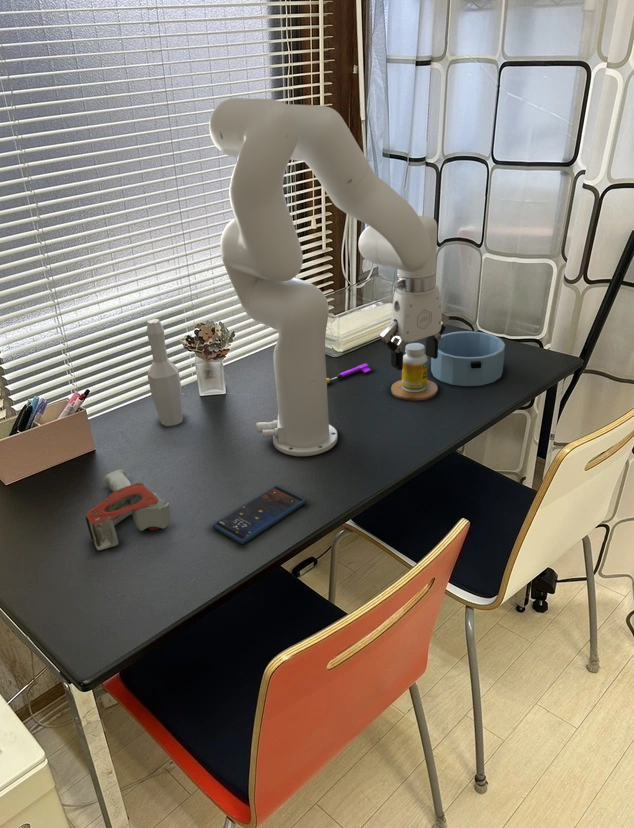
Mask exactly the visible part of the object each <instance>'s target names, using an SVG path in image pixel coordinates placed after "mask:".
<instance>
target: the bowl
mask: <svg viewBox="0 0 634 828" xmlns="http://www.w3.org/2000/svg"><path fill="white" fill-rule="evenodd" d="M505 350H506V344H505V342H504V341H503V339H501V338H500V337H498V336H496V335H495V334H492V333H491V334H490V333H487V332H483V331H473V330H471V331H470V330H463V331H453V332H448V333H445V334H442V335H441V339H440V340H438V358H436V359H434V358H432V357H430V358H431V359H430V372H431V374H432V376H433V377H434V378H435V379H437V380H438V381H439V382H442V383H445V384H449V385H452V386H459V387H479V386H484V385H488V384H492V383H495V382H496V381H498V380H499V379H500V378H501V377H502V376H503V372H504V363H505V352H506V351H505Z"/></svg>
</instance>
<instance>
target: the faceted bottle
mask: <svg viewBox="0 0 634 828" xmlns="http://www.w3.org/2000/svg"><path fill="white" fill-rule="evenodd" d="M146 336H147V339H148V342H149V345H150V349H151V355H152V360H153V361H152V363H151V365H150V367H149V369H148V371H147V379H148V383H149V390H150V394H151V397H152V400H153V403H154V406H155V409H156V412H157V415H158V418H159V421H160V424H161V425H163V426H165V427H172V426H173V427H174V426H177V425H180V424H182V423H183V420H184V418H183V417H184V416H183V395H182V383H181V378H180V371H179V367H177V366H176V364H175V363H173V362H172V361H171V360H170V359H169V358H168V352H167V347H166V338H165V328H164V326H163V324H162V323H161V321H160V319H158V318H152V319H149V320H147V324H146Z"/></svg>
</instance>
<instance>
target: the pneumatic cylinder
mask: <svg viewBox="0 0 634 828" xmlns="http://www.w3.org/2000/svg"><path fill="white" fill-rule="evenodd" d="M357 372H360V373H363V374H366V375H367V374H368V373H371V372H372V369H371V368H370V367H369V363H362V364H360V365H358V366H356V367H353V368H351V369H348V370H346V371H343V372H341V373H339V374H337V375H336V376H334V377H332V378H329V377H327V385H328V384H330V383H331V381H333V380H335V379H342V378H344V377H347V376H349V375H352V374H354V373H357Z"/></svg>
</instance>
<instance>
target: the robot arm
mask: <svg viewBox="0 0 634 828" xmlns="http://www.w3.org/2000/svg"><path fill="white" fill-rule="evenodd" d="M208 128H209V135H210V138H211V141H212V143H213V144H214V146H215V147H216V148H217V149H218V150H219V151H220V152H221V153H222V154H223V155H226V156H228V157H232V158H236V162H235V165H234V168H233V170H232V172H231V173H232V174H231V176H230V182H229V189H228V195H229V203H230V206H231V210H232V214H233V216H234V218H233V219H232V220H230V221H229V222H228V223H227V224H226V225H225V227H224V228H223V231H222V233H221V235H220V236H221V237H220V243H219V244H220V246H219V248H220V257H221V260H222V263H223V265H224V268H225V270H226V273H227V275H228V277H229V280H230V283H231V284H232V285H231V286H232V287H233V290H234V292H235V293H236V296H237V298H238V300H239V303H240V305H241V307H242V309H243V310H244V312H245V313H246V315H247V316H248V317H249V318H251V319H252V320H253V321H255V322H257V323H260V324H261V325H264V326H267V327H269V328H271V329H273V330H275V331H277V333H278V337H277V341H276V343H275V346H274V350H273V359H272V360H273V370H274V380H275V391H276V401H277V411H278V412H277V413H278V414H277V419H273V420H272V421H268V422H266V421H263V422H261V421H260V422H256V433H262V437H263V438H269V437H272V443H273V446H274V448H275V449H276V450H278V451H279V452H280V453H283V454H285V455H288V456H293V457H310V456H311V457H312V456H316V455H320V454H323V453H325V452H327V451H329V450H331V449H332V448H334V446H335V445H336V444H337V443H338V431H337V429H336V428H335V427H334V425H333V426H332V425H331V424H330V417H329V415H330V414H329V399H328V398H329V397H328V384H327V378H328V377H327V376H328V375H327V364H326V363H327V362H326V337H327V336H326V334H327V327H328V321H329V315H330V314H329V310H330V308H329V303H328V299H327V297H326V295H325V293H324V292H323V291H322V290H321V289H320V288H319V287H318V286H316V285H315V284H313V283H311V282H309V281H306V280H303V279H300V278H297V277H296V276H298V275H299V273H300V272H301V269H302V267H303V262H304V255H303V249H302V245H301V242H300V240H299V236H298V234H297V231H296V228H295V225H294V222H293V219H292V216H291V213H290V210H289V207H288V204H287V200H286V197H285V193H284V179H285V174H286V170H287V167H288V165H289V162H290V160H291V161H299V162H303V163H305V164H306V165H307V166H308V167H309V169H310V171H311V172H312V173H313V175H314V176H315V178H316V179H317V181H318V182H319V183H320V185H321V187H322V188H323V191H325V193H326V194H327V196H328V198H329V199H330V201H331V202H332V204H333V205H334V206H335V207H336V208H337V209H339V210H340V211H342V212H343V213H345V214H346V215H348V216H350V217H352V218H353V219H355V220H358V221H359V222H362V223H363V224H365V225H367V227H365V229H363V231H362V232H361V234H360V236H359V238H358V241H357V242H358V244H357V245H358V251H359V254H360V255H361V256H362V258H364V259H365V260H366V261H368V262H370V263H372V264H376V265H379V266H382V267H388V268H392V269H396V270H397V271H396V272H397V276H396V279H397V280H396V281H394V282H393V284H392V285H393V288H394V289H395V291H394V295H393V299H392V305H391V317H390V319H391V320H390V324H389V325H388V326H387V327H386V328H385V329H384V330H383V331H382V332H381V333H380V334H379V337H380V338H381V340H382V342H383V345H384V346H385V347H387V349H388V350H390V365H391V367H393V368H394V369H396V370H398V371H402V369H403V356H404V352H403V351H402V349H403V348H404V345H405V344H406V343H408V344H410V343H414V342H416V341H419V340H423V339H425V340H426V341H425V355H426V356H427V357H429V358H431V357H432V358H434V359H436V358H438V340H440V339H441V335H443V333H444V332H445V330H446V326H447V324H448V322H449V321H450V316H449V315H448V314H447V315H446V314H444V313H442V301H441V300H442V299H441V294H440V289H439V285H436V274H437V250H438V249H437V248H438V244H437V243H438V223H437V221H436V219H434V218H433V217H431V216H427V215H419V214H418V212H417V211H416V210H415V209H414V208H413V206H412V205H411V204H410V203H409V202H408V201H407V200H406V199H405V198H404V197H402V196H401V195H400V194H399V192H396V190H394V189H393V187H391V186H390V185H389V184H388V183H387V182H386V181H384V180H383V179H382V178H381V177H379V176H378V175H377V174H376V173H375V171H374V170H373V168H372V166H371V165H370V162H369V161H368V159H367V158H366V156H365V154H364V152H363V151H362V149H361V147H360V146H359V144H358V142H357V141H356V139H355V137H354V135H353V133H352V132H351V130H350V129H349V127H348V125H347V123H346V122H345V120H344V118H343V117H342V116H341V114H340V113H339V112H338V111H337V110H336V109H334V108H333V107H330V106H326V105H319V104H294V103H293V104H292V103H291V104H290V103H289V104H288V103H285V102H283V101H281V100H277V99H270V98H243V97H240V98H239V97H231V98H227V99H225V100H223V101H221V102H220V103H219V104H217V106H215V108H214V109H213V111H212V112H211V115H210V118H209V125H208ZM391 336H392V338H391Z"/></svg>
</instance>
